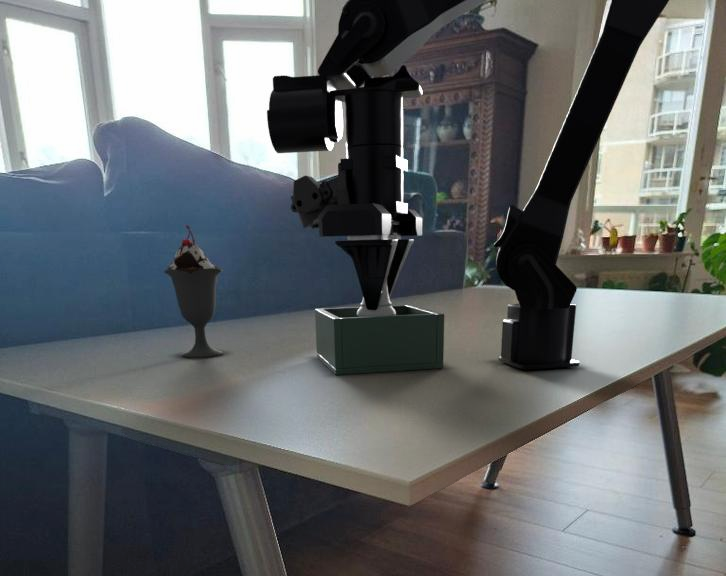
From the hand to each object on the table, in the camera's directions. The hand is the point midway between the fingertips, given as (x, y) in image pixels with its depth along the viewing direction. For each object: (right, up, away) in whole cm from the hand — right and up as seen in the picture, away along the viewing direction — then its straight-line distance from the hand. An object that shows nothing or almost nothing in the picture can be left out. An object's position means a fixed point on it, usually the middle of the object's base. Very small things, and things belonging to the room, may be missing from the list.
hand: (377, 308), depth 72 cm
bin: (0, -6, +2) cm, 6 cm away
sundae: (-21, -3, +10) cm, 24 cm away
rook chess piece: (0, -2, +1) cm, 2 cm away
